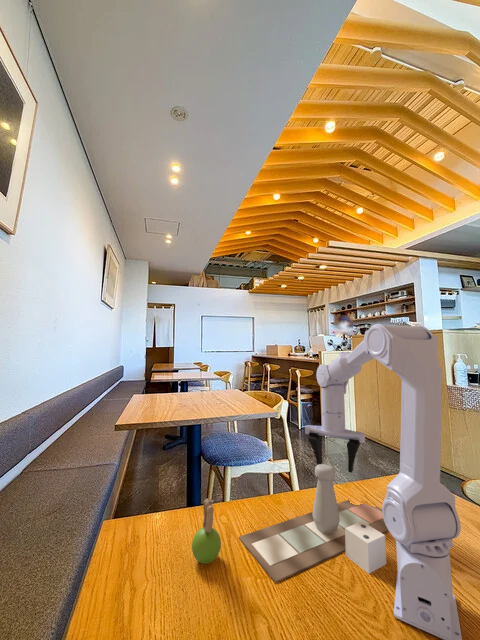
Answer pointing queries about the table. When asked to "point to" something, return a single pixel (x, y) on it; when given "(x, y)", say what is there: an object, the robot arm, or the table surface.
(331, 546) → the game board
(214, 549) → the green ball handle toy
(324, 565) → the table surface
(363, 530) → the die
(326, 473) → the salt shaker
